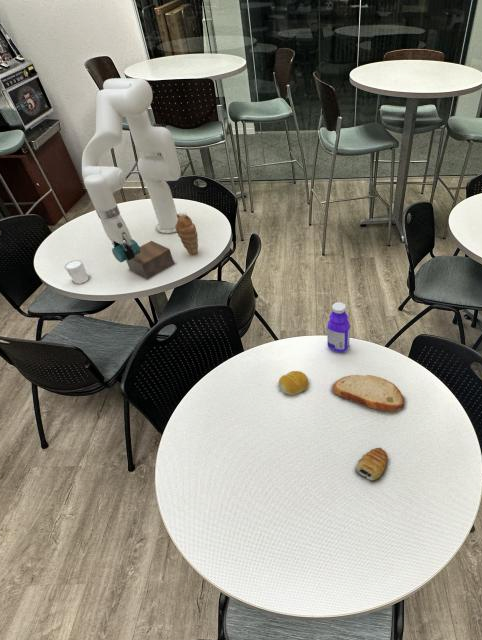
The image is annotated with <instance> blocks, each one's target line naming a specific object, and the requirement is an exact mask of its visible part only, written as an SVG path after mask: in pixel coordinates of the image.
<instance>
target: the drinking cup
mask: <svg viewBox="0 0 482 640" xmlns="http://www.w3.org/2000/svg"><path fill="white" fill-rule="evenodd" d="M130 241H131V242H132V244H133V245H132V250H133V253H134V255H137V254H139V253H140V248H139V247H140V246H139V244H138V242H137V241H136V240H135V239H133V238H132V240H130ZM124 245H125V247H126V245H127V243H126V244H124ZM124 251H125V250H124V248H123V247H122V245H121V244H120V245H118V246H116V247H114V246H113V248H111V252H112V255H113V257H114V258H115V259H116V260H117V261H118V262H119V263H124V262H125V261H126V260H127V257H126V255H125V253H124Z"/></svg>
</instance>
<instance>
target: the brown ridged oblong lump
mask: <svg viewBox="0 0 482 640" xmlns="http://www.w3.org/2000/svg"><path fill="white" fill-rule="evenodd" d="M177 218H178V221H177V224H176V226H175V228H176V230H177V232H176V233H177V236H178V237H179V239H180V242H181V244H182V245H183V247H184V248H185V250H186V251H187V253H188V254H190V255H192V256H193V255H197V254H198V252H199V239H198V232H197V227H196V225H195V223H193V220H192V218H191V217H190V216H189V215H188V214H187V215H182V216H180V215H179V214H178V213H177Z"/></svg>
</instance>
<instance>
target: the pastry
mask: <svg viewBox="0 0 482 640" xmlns="http://www.w3.org/2000/svg"><path fill="white" fill-rule="evenodd" d="M388 457H389V456H388V453H387V452H386V450H385V449H383V448H382V447H375V448H373V449H372V448H371V449H370V450H369V451H367V452H366V453H365V454H363V455H362V457H361V458H360V459H359V460H358V462H357V464H356V466H355V467H354V468H355V471H357V473H358V474H359V475H361V476H363V477H365V478H366V479H368V480H369V481H375V480H377V479H379V478H380V477H382V475H383V472H384V471H385V469H386V466H387V462H388Z"/></svg>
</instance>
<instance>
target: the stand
mask: <svg viewBox="0 0 482 640" xmlns="http://www.w3.org/2000/svg"><path fill="white" fill-rule="evenodd" d="M139 248H140V253H139V254H137V255H135V257H134V258H133V259H131V260H125V261H126V264H127V266H128V269H129V271H131V272H132V273H135V274H136V275H139V276H140V277H142V278H144V279H146V280H149V279H151V278H153V277H154V276H156V275H158V274H159V273H161V272H163V271H165V270H166V269H168V268H170V267H172V266H173V265H175V262H174V258H173V255H172V252H171V248H168V247H166V246H164V245H162V244H159V243H158V242H156V241H153V240H150V241H148V242H146V243H143V244H142V245H141V246H139Z"/></svg>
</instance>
